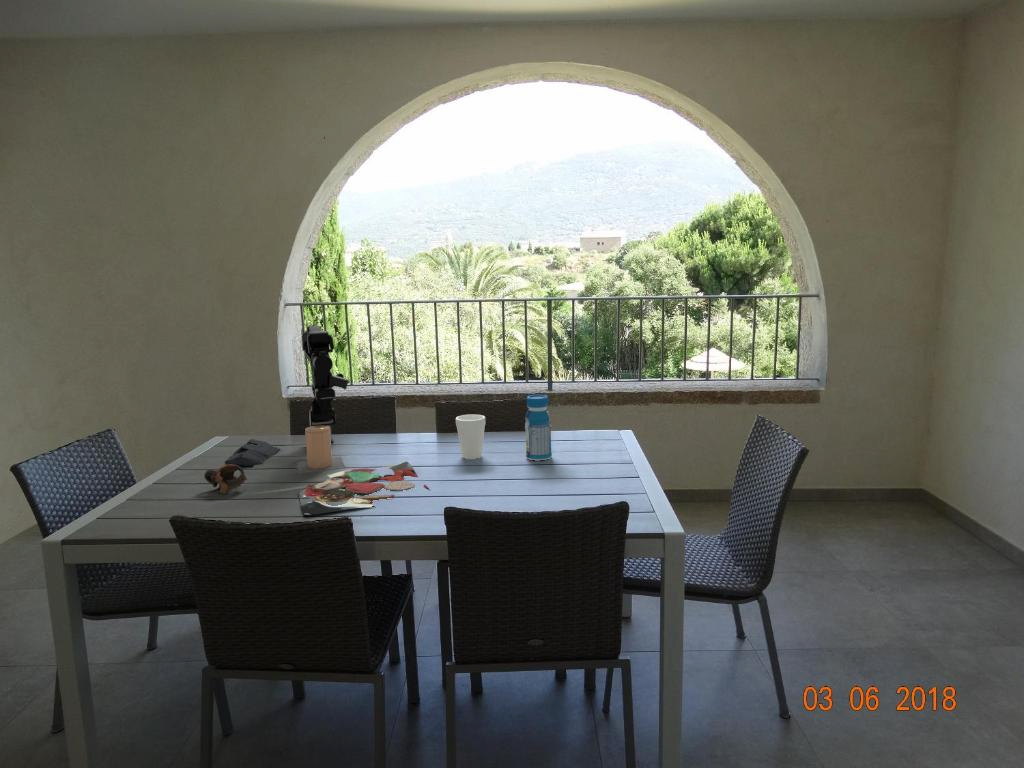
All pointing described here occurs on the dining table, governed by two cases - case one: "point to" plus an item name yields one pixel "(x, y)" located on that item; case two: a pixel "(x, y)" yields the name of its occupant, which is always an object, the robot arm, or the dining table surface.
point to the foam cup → (471, 435)
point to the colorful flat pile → (355, 488)
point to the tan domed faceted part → (318, 446)
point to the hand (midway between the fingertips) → (325, 414)
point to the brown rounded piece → (225, 477)
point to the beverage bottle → (538, 428)
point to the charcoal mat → (304, 468)
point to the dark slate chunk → (252, 453)
